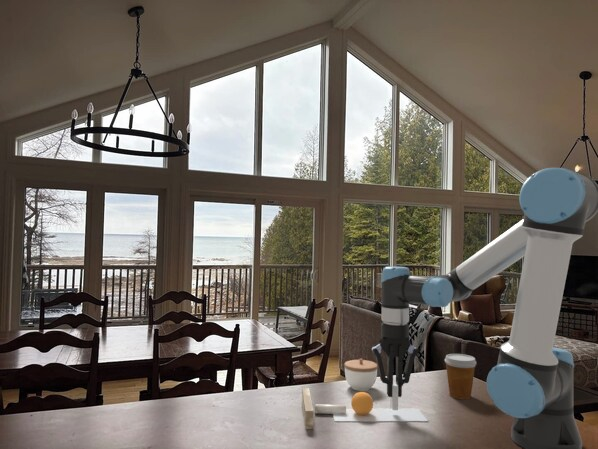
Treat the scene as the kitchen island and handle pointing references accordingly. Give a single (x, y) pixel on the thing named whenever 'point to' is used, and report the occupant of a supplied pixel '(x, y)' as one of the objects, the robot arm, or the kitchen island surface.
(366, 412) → the ball
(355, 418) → the plate
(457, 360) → the disposable coffee cup
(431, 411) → the kitchen island surface
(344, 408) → the pin
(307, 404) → the backstop
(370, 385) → the lidded jar
